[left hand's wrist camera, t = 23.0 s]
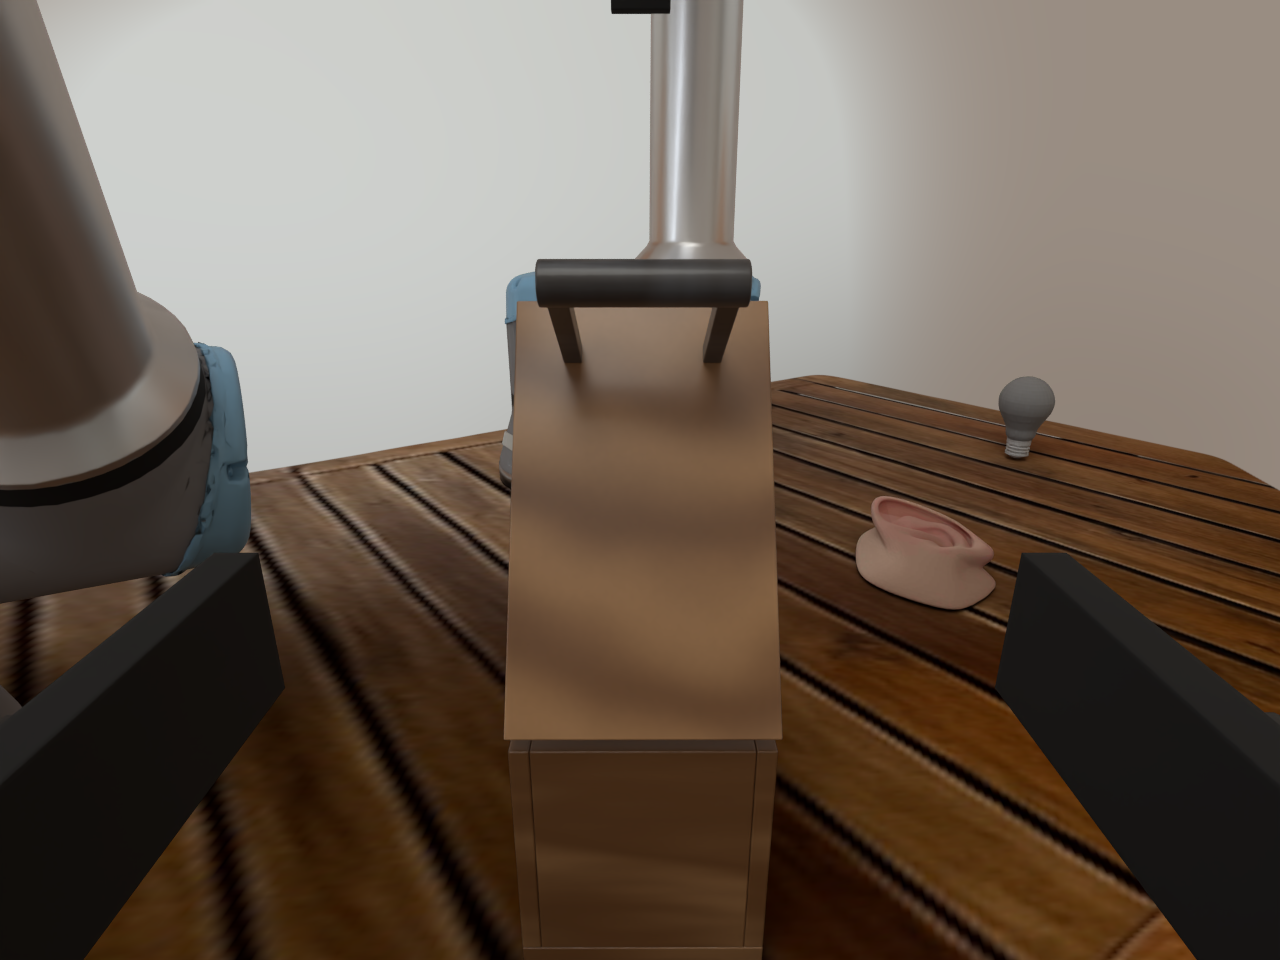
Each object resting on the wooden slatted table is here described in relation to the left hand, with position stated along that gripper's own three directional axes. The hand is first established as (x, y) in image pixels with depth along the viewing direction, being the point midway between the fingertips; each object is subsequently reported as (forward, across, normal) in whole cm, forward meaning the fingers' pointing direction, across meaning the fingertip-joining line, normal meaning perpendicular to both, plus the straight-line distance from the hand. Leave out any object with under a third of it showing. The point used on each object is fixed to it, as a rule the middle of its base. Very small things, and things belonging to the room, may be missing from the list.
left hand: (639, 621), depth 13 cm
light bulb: (+75, +46, -22) cm, 91 cm away
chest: (+18, 0, -22) cm, 28 cm away
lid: (+15, 0, -4) cm, 15 cm away
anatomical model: (+45, +24, -22) cm, 55 cm away
